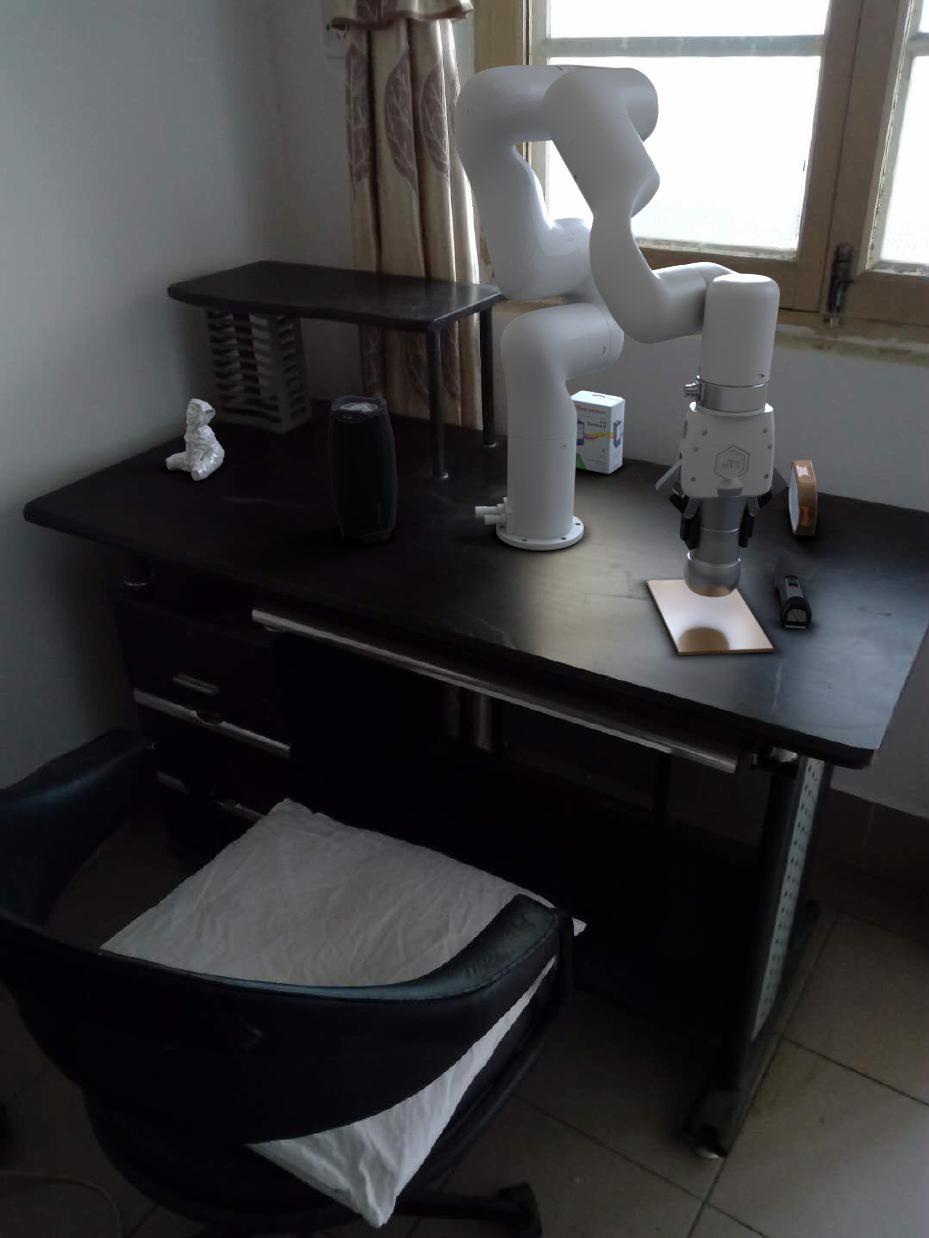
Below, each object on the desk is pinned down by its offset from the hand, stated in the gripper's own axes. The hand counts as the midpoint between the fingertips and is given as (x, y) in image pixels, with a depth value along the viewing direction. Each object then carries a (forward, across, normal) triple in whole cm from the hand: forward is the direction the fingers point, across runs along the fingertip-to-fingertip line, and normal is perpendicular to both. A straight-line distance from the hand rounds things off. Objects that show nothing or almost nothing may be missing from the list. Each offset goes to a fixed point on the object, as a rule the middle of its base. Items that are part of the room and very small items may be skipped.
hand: (714, 542), depth 119 cm
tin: (+10, +20, +26) cm, 35 cm away
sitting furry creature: (+10, -72, +57) cm, 92 cm away
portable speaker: (+10, -43, +28) cm, 52 cm away
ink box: (+10, -6, +52) cm, 53 cm away
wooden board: (+10, 0, 0) cm, 10 cm away
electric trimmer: (+10, +11, +4) cm, 16 cm away
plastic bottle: (+7, 0, 0) cm, 7 cm away
